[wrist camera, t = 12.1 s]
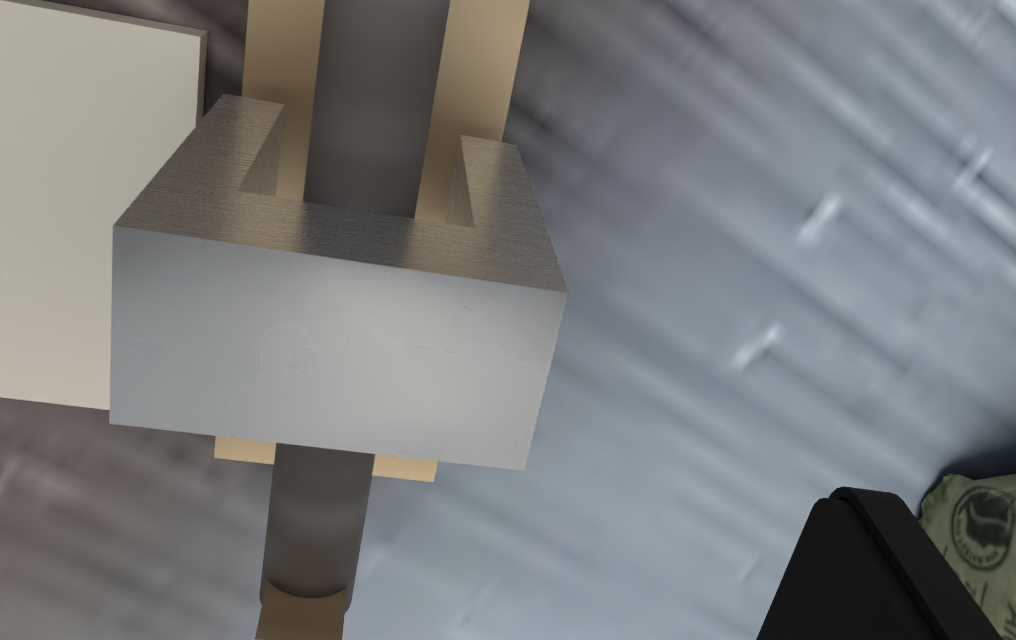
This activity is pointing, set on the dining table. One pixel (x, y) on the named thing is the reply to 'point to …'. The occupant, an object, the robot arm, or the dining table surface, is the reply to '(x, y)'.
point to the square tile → (78, 178)
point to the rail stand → (368, 187)
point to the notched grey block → (332, 305)
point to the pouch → (978, 540)
